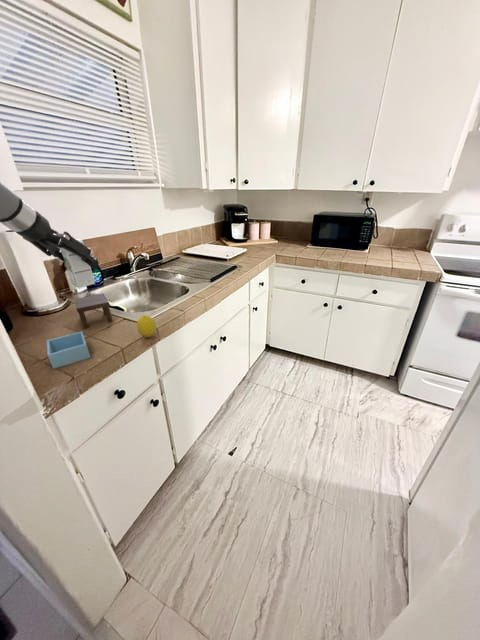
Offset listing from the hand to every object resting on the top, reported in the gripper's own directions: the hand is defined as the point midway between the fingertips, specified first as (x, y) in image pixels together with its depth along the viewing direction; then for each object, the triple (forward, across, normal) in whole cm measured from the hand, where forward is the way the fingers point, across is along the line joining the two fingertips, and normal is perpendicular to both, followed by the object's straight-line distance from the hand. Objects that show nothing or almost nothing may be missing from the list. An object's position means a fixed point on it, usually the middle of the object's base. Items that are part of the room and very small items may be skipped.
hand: (86, 265), depth 88 cm
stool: (+13, 0, +16) cm, 20 cm away
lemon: (+8, -24, +21) cm, 33 cm away
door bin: (-2, -7, +31) cm, 31 cm away
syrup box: (+2, 0, +6) cm, 7 cm away
